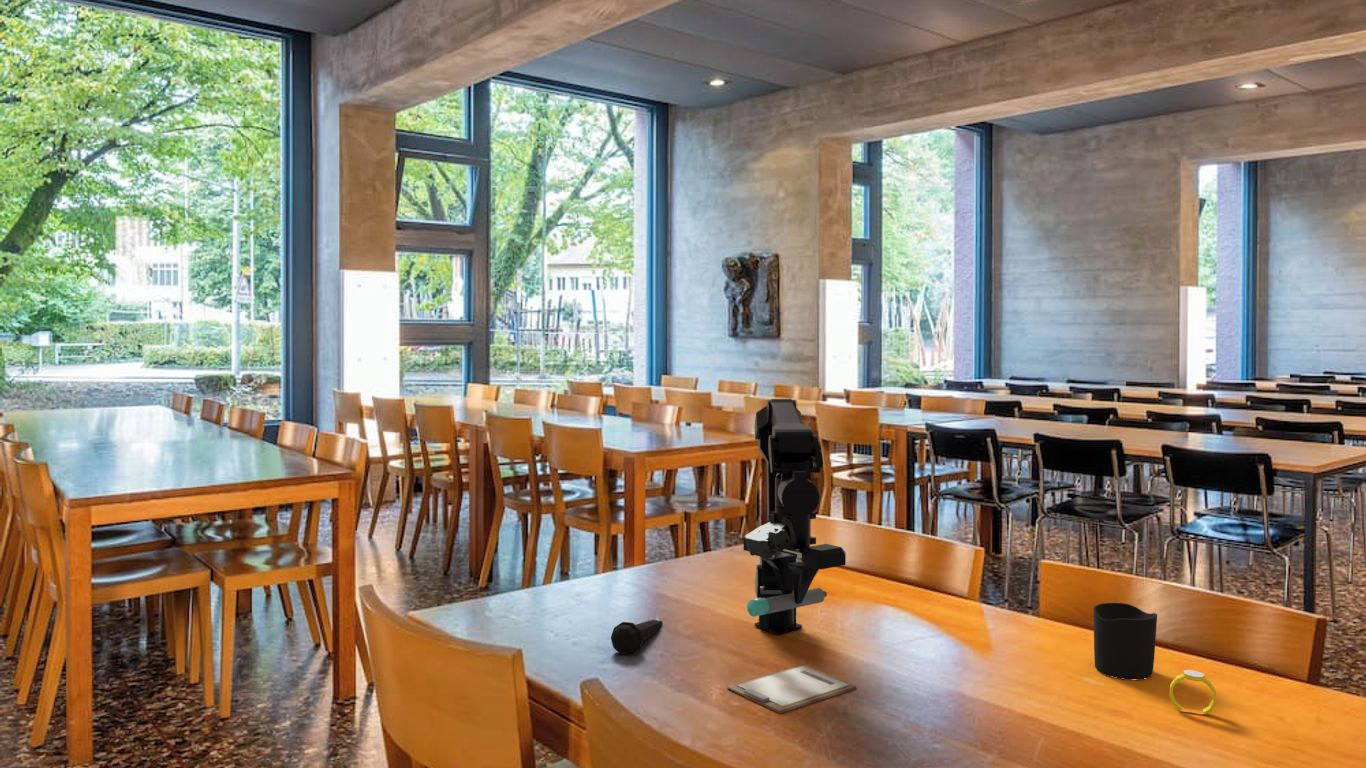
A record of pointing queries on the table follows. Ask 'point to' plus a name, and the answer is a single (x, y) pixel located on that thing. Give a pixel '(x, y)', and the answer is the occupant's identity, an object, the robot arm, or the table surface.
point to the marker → (783, 602)
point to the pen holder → (1124, 640)
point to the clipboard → (791, 688)
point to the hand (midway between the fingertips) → (792, 601)
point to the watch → (1194, 677)
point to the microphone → (632, 635)
